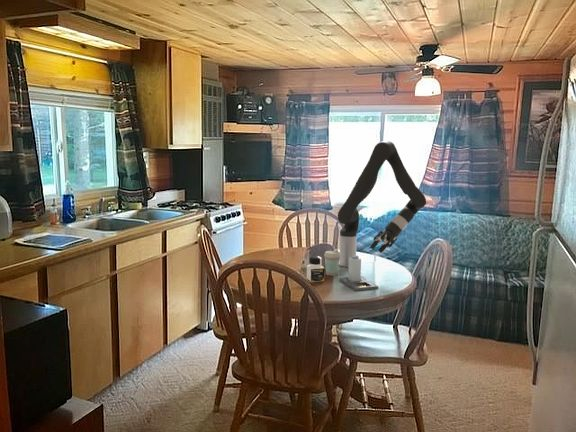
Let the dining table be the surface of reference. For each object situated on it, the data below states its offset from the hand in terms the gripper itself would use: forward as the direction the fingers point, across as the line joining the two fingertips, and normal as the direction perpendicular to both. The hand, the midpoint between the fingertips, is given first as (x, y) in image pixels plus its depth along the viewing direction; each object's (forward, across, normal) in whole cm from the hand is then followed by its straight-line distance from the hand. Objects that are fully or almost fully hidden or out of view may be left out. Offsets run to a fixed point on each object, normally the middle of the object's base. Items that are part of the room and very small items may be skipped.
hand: (375, 249), depth 239 cm
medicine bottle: (+31, -10, -9) cm, 34 cm away
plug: (+19, 0, +3) cm, 19 cm away
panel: (+19, +4, +3) cm, 20 cm away
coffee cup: (+23, -16, 0) cm, 28 cm away
